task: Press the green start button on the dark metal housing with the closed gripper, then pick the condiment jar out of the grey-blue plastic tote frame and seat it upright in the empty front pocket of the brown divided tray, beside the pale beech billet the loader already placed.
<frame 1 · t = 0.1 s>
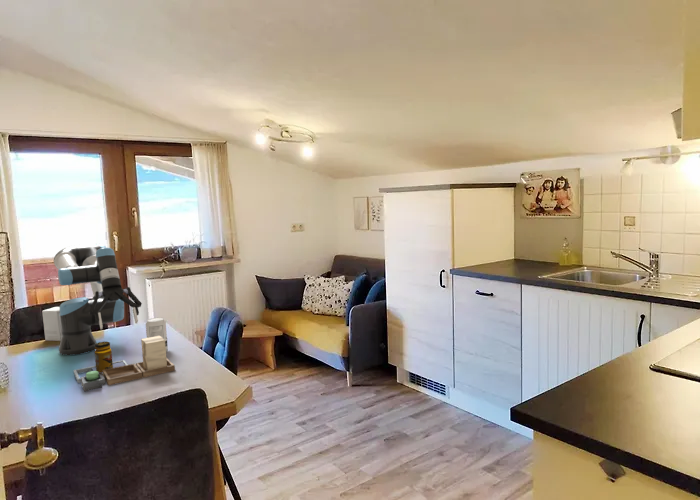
hand: (119, 325, 211), 15 cm above the table, tool tilted 35°, fingers open, 13 cm apart
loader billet: (155, 369, 198), point 1 cm above the table, touching brown divided tray
tote frame: (102, 372, 199), on the table
brown divided tray: (139, 375, 195), on the table
condiment: (102, 373, 199), resting in tote frame
start button: (92, 375, 185), point 4 cm above the table, slide at 0.0 cm
supplement can: (158, 353, 222), on the table
supplement box: (59, 338, 250), on the table
button housing: (93, 385, 186), on the table
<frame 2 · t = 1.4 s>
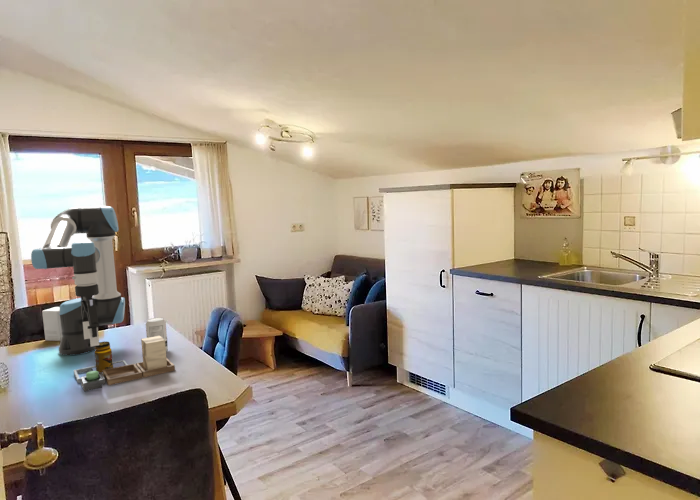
hand: (91, 342, 185), 16 cm above the table, tool pointing down, fingers open, 13 cm apart
nothing on the table moved.
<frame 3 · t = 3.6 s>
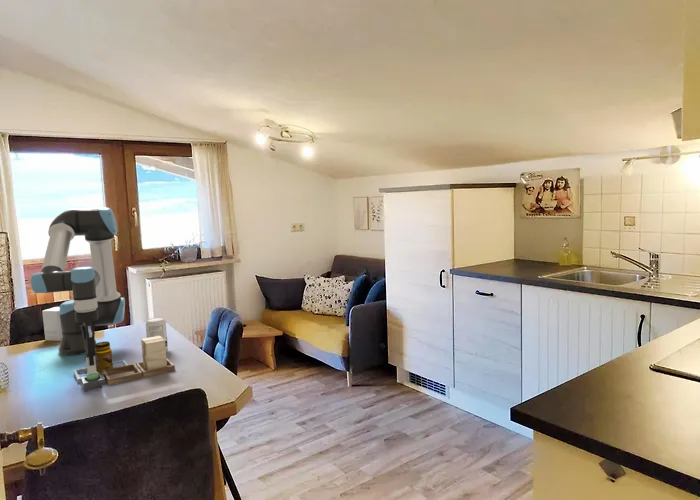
hand: (92, 373, 185), 5 cm above the table, tool pointing down, fingers closed
start button: (92, 376, 185), point 4 cm above the table, slide at 0.3 cm, touching gripper
everything else where it was.
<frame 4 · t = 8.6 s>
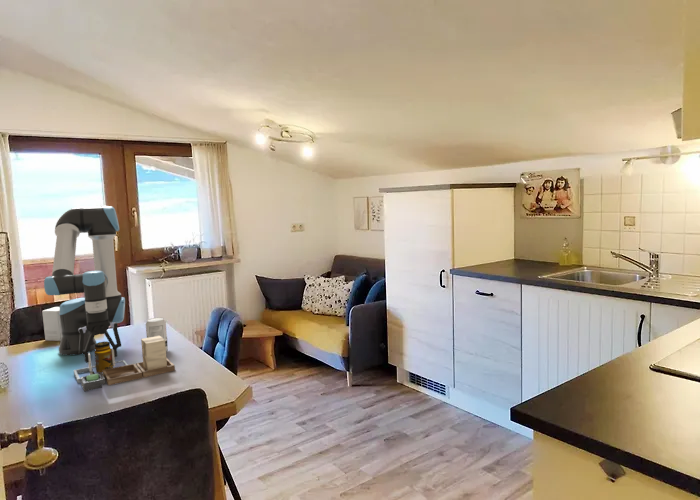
hand: (102, 367, 199), 2 cm above the table, tool pointing down, fingers open, 8 cm apart
condiment: (102, 373, 199), resting in tote frame, touching gripper
start button: (92, 378, 186), point 3 cm above the table, slide at 1.2 cm
everything else where it was.
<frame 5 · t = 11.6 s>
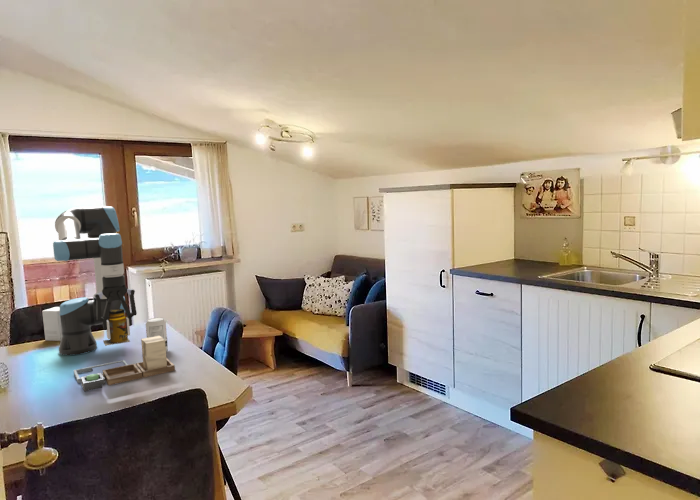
hand: (118, 336, 189), 17 cm above the table, tool pointing down, fingers closed on condiment, 6 cm apart
condiment: (116, 342, 189), point 15 cm above the table, touching gripper
everything else where it was.
when the fingers open (5 cm above the table, at t = 14.1 s): condiment stays where it is, resting on brown divided tray.
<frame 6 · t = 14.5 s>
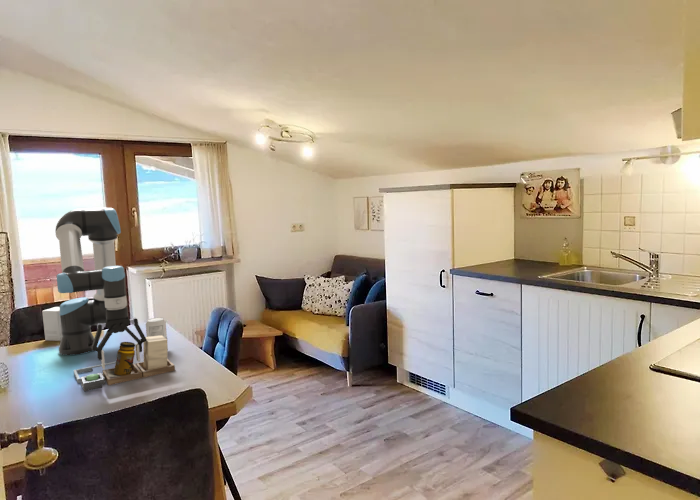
hand: (121, 364, 191), 6 cm above the table, tool pointing down, fingers open, 11 cm apart
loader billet: (155, 368, 198), point 1 cm above the table, touching gripper, brown divided tray
condiment: (119, 374, 191), point 2 cm above the table, touching brown divided tray
everything else where it was.
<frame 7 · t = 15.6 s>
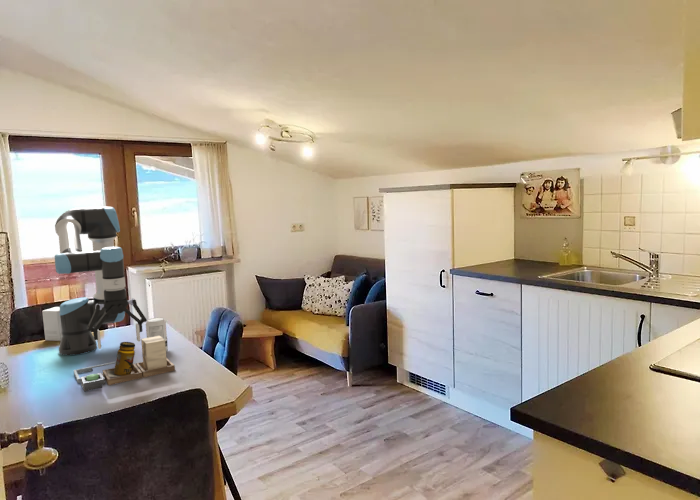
hand: (119, 344, 190), 14 cm above the table, tool pointing down, fingers open, 13 cm apart
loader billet: (155, 369, 198), point 1 cm above the table, touching brown divided tray
everything else where it was.
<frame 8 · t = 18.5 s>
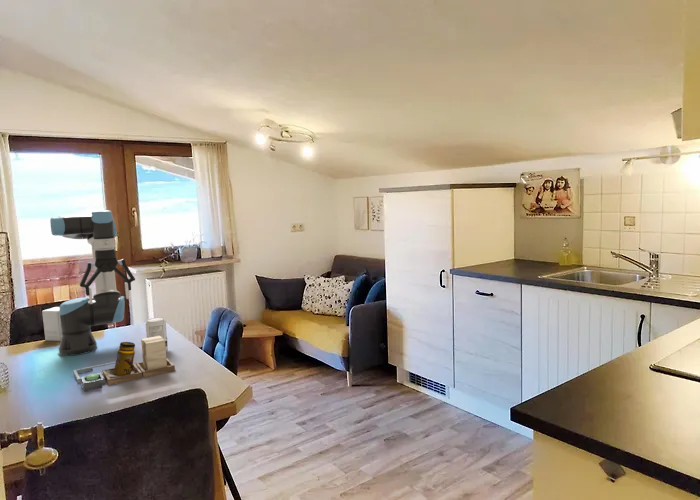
hand: (109, 301, 206), 27 cm above the table, tool pointing down, fingers open, 13 cm apart
nothing on the table moved.
at the end: condiment inside the target area (1.0 cm from its centre), point 2.0 cm above the table; condiment tilted 14°; start button slide at 1.2 cm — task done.
